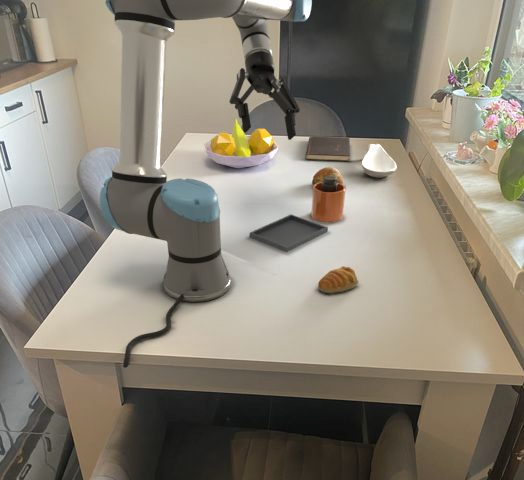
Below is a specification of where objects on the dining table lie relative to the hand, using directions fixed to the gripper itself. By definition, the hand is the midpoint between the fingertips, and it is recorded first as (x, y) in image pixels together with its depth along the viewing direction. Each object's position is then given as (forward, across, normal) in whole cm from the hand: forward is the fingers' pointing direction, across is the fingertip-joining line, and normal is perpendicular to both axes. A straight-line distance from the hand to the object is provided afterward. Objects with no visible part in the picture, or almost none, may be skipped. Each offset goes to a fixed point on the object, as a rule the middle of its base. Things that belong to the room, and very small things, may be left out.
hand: (270, 133), depth 141 cm
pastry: (+45, -3, +13) cm, 47 cm away
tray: (+25, -6, -8) cm, 27 cm away
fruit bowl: (-21, -22, -51) cm, 60 cm away
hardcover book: (-25, -55, -42) cm, 74 cm away
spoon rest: (-8, -58, -23) cm, 63 cm away
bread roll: (+1, -35, -22) cm, 41 cm away
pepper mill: (+17, -22, -9) cm, 29 cm away
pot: (+18, -22, -9) cm, 29 cm away
